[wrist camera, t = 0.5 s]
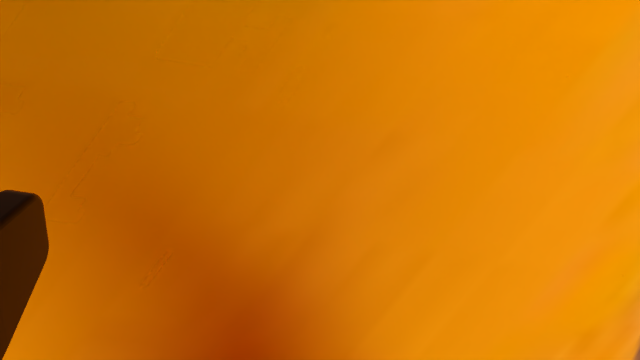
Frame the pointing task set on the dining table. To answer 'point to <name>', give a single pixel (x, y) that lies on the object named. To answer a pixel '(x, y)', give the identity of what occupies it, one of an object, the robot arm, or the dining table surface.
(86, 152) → the dining table surface
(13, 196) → the robot arm
